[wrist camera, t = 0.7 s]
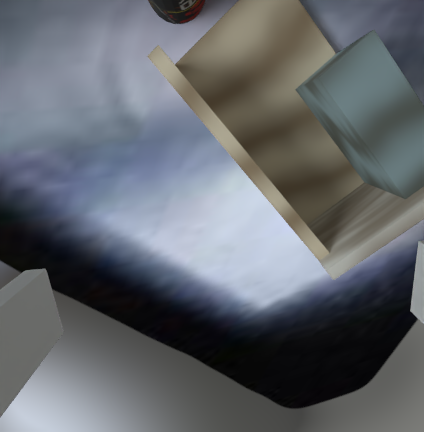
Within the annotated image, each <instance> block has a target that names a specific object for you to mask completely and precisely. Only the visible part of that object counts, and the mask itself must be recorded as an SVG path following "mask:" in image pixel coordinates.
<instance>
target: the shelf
mask: <svg viewBox="0 0 424 432" xmlns="http://www.w3.org/2000/svg"><path fill="white" fill-rule="evenodd" d="M147 57H148V58H149V59H150V60H151V61H152V63H153V64H154V65H155V66H156V67H157V69H158V70H159V71H160V72H161V73H162V74H163V76H164V77H165V78H166V79H167V80H168V82H169V83H170V84H171V85H172V86H173V88H174V89H175V90H176V91H177V92H178V94H179V95H180V96H181V97H182V98H183V99H184V101H185V102H186V103H187V104H188V105H189V107H190V108H191V109H192V110H193V111H194V113H195V114H196V115H197V116H198V117H199V119H200V120H201V121H202V122H203V123H204V124H205V126H206V127H207V128H208V129H209V130H210V132H211V133H212V134H213V135H214V136H215V138H216V139H217V140H218V141H219V142H220V144H221V145H222V146H223V147H224V148H225V150H226V151H227V152H228V153H229V154H230V155H231V157H232V158H233V159H234V160H235V161H236V163H237V164H238V165H239V166H240V167H241V169H242V170H243V171H244V172H245V173H246V175H247V176H248V177H249V178H250V179H251V180H252V182H253V183H254V184H255V185H256V186H257V188H258V189H259V190H260V191H261V192H262V194H263V195H264V196H265V197H266V198H267V200H268V201H269V202H270V203H271V204H272V205H273V207H274V208H275V209H276V210H277V211H278V213H279V214H280V215H281V216H282V217H283V219H284V220H285V221H286V222H287V223H288V225H289V226H290V227H291V228H292V229H293V230H294V232H295V233H296V234H297V235H298V236H299V238H300V239H301V240H302V241H303V242H304V244H305V245H306V246H307V247H308V248H309V250H310V251H311V252H312V253H313V254H314V256H315V257H316V258H317V259H318V260H319V262H320V263H321V265H322V266H323V267H324V269H325V270H326V272H327V273H328V274H329V275H330V276H331V278H332V279H333V280H335V279H336V278H338V277H339V276H341V275H342V274H344V273H345V272H346V271H348V270H349V269H351V268H352V267H354V266H355V265H357V264H358V263H360V262H361V261H363V260H364V259H366V258H367V257H368V256H370V255H371V254H373V253H374V252H376V251H377V250H379V249H380V248H382V247H383V246H385V245H386V244H388V243H389V242H391V241H392V240H393V239H395V238H396V237H398V236H399V235H401V234H402V233H404V232H405V231H407V230H408V229H410V228H411V227H413V226H414V225H416V224H417V223H418V222H420V221H421V220H423V219H424V105H423V104H422V102H421V101H420V99H419V98H418V96H417V95H416V93H415V92H414V90H413V89H412V87H411V85H410V84H409V82H408V81H407V79H406V78H405V76H404V75H403V73H402V72H401V70H400V69H399V67H398V66H397V64H396V62H395V61H394V59H393V58H392V56H391V55H390V53H389V52H388V50H387V49H386V47H385V46H384V44H383V43H382V41H381V39H380V38H379V36H378V35H377V33H376V32H375V30H372V31H371V32H369V33H368V34H366V35H365V36H363V37H361V38H360V39H358V40H357V41H355V42H354V43H352V44H351V45H349V46H347V47H346V48H344V49H343V50H341V51H340V52H338V53H337V54H336V53H335V52H334V50H333V49H332V47H331V46H330V44H329V43H328V42H327V40H326V39H325V37H324V36H323V34H322V33H321V31H320V30H319V29H318V27H317V26H316V24H315V23H314V21H313V20H312V18H311V17H310V16H309V14H308V13H307V11H306V10H305V8H304V7H303V5H302V4H301V3H300V1H299V0H239V1H238V2H237V3H236V4H235V5H234V6H233V7H232V8H231V9H230V10H229V11H228V12H227V13H226V14H225V15H224V16H223V17H222V18H221V19H220V20H219V21H218V22H217V23H216V24H215V25H214V26H213V27H212V28H211V29H210V30H209V31H208V32H207V33H206V34H205V35H204V36H203V37H202V38H201V39H200V40H199V41H198V42H197V43H196V44H195V45H194V46H193V47H192V48H191V49H190V50H189V51H188V52H187V53H186V54H185V55H184V56H183V57H182V58H181V59H180V60H179V61H178V62H177V63H176V64H174V63H173V62H172V61H171V60H170V58H169V57H168V56H167V55H166V54H165V52H164V51H163V50H162V49H161V48H160V46H159V45H158V46H157V47H156V48H155V49H154V50H153V51H152V52H151V53H150V54H149V55H148V56H147Z"/></svg>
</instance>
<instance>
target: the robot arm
mask: <svg viewBox="0 0 424 432" xmlns="http://www.w3.org/2000/svg"><path fill="white" fill-rule="evenodd" d="M410 311H411V312H412V313H413V314H414V315H415V316H416V317H417V318H418V319H419V320H420V321H421V322H422V323H423V324H424V241H419V242H418V250H417V259H416V267H415V276H414V284H413V293H412V302H411V310H410ZM63 333H64V331H63V327H62V323H61V320H60V317H59V313H58V310H57V306H56V303H55V299H54V296H53V292H52V289H51V285H50V282H49V278H48V275H47V271H46V269H37V270H25V271H24V272H23V273H21V274H20V275H19V276H18V277H16V278H15V279H14V280H12V281H11V282H10V283H8V284H7V285H6V286H4V287H3V288H2V289H1V290H0V417H1V416H2V415H3V413H4V412H5V411H6V409H7V408H8V406H9V405H10V404H11V402H12V401H13V400H14V399H15V397H16V396H17V395H18V393H19V392H20V390H21V389H22V388H23V386H24V385H25V384H26V382H27V381H28V380H29V378H30V377H31V376H32V374H33V373H34V372H35V370H36V369H37V368H38V366H39V365H40V364H41V362H42V361H43V359H44V358H45V357H46V356H47V354H48V353H49V352H50V350H51V349H52V348H53V346H54V345H55V343H56V342H57V341H58V340H59V338H60V337H61V336H62V334H63Z"/></svg>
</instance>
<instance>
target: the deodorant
mask: <svg viewBox="0 0 424 432" xmlns="http://www.w3.org/2000/svg"><path fill="white" fill-rule="evenodd" d="M148 1H149V3H150V4H151V6H152V8H153V9H154V11H155V12H156V13H157V14H158V15H159V17H161V18H162V19H164V20H165V21H167V22H170V23H173V24H182V23H186V22H189V21H190V20H192V19H194V18H195V17H196V16H197V15H198V14H199V13H200V12H201V10H202V8H203V6H204V4H205V0H148Z"/></svg>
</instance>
